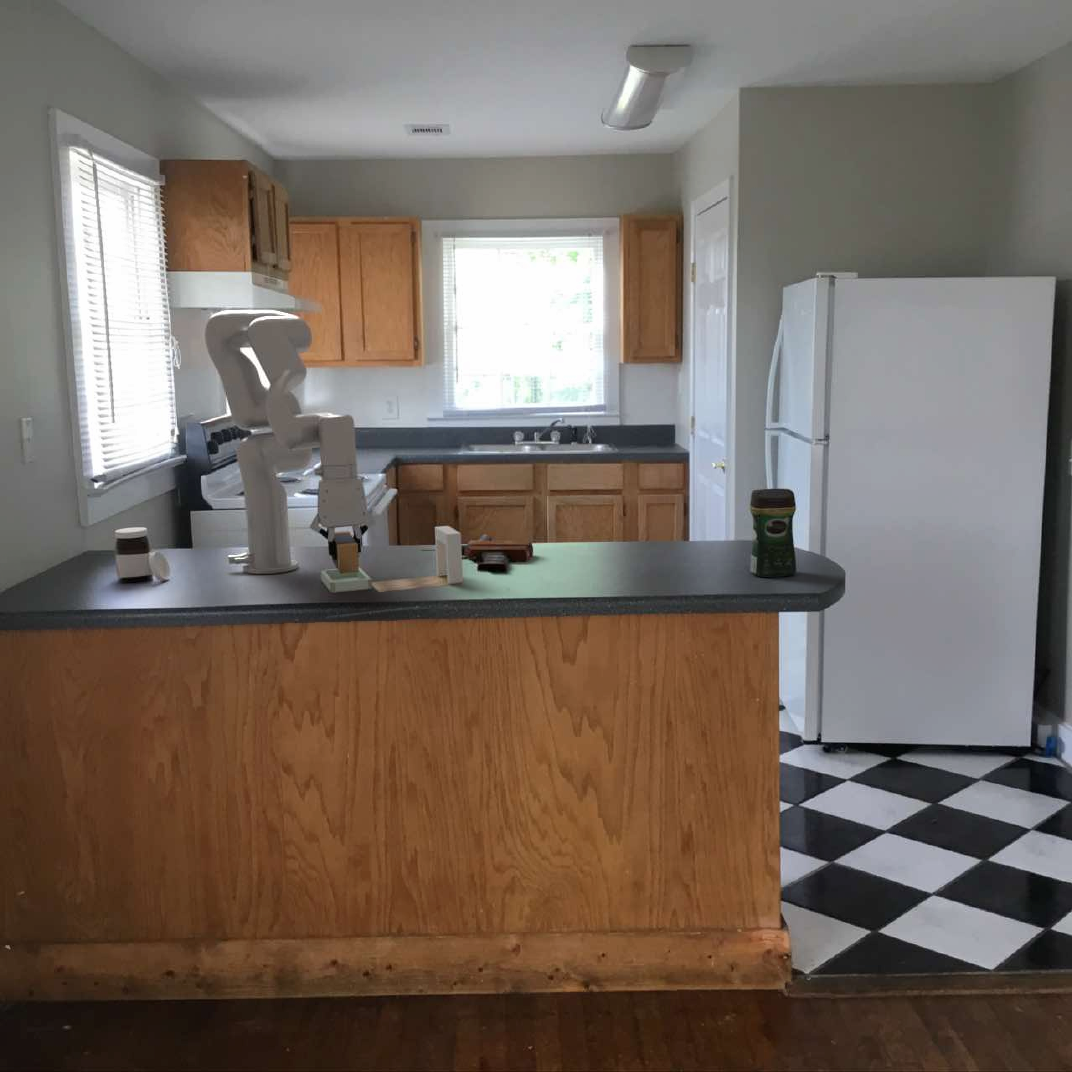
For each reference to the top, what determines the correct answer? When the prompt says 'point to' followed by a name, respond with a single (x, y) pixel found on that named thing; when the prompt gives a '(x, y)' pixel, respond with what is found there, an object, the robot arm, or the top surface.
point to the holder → (412, 583)
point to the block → (346, 553)
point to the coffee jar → (772, 533)
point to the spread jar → (138, 557)
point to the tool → (496, 553)
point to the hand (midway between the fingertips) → (345, 556)
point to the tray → (345, 580)
